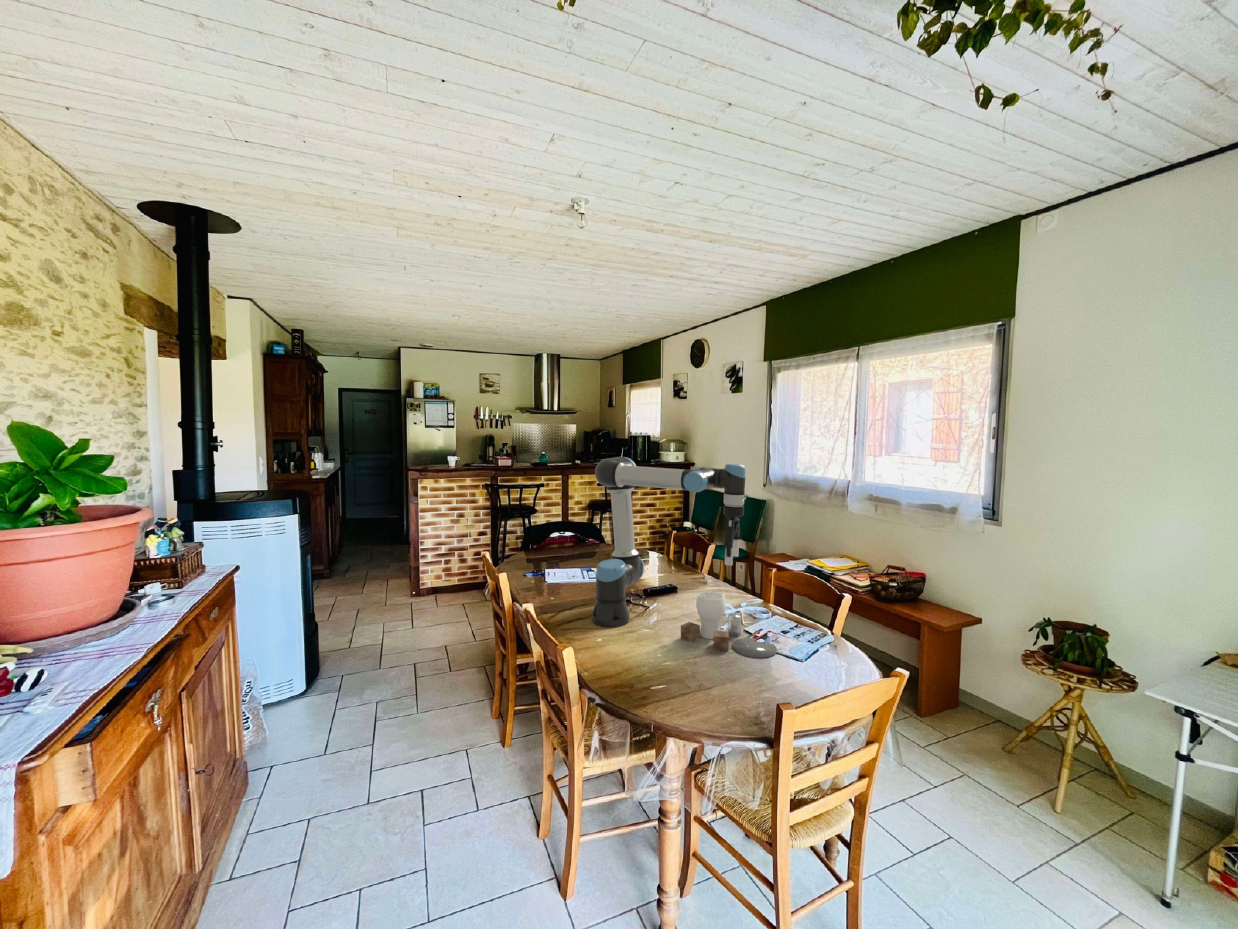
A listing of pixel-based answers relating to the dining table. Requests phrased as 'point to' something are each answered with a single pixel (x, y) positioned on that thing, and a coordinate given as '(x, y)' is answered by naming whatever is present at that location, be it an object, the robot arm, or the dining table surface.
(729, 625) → the grey tin
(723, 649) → the walnut block
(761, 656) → the disc
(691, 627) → the walnut block
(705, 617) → the cup
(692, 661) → the dining table surface
